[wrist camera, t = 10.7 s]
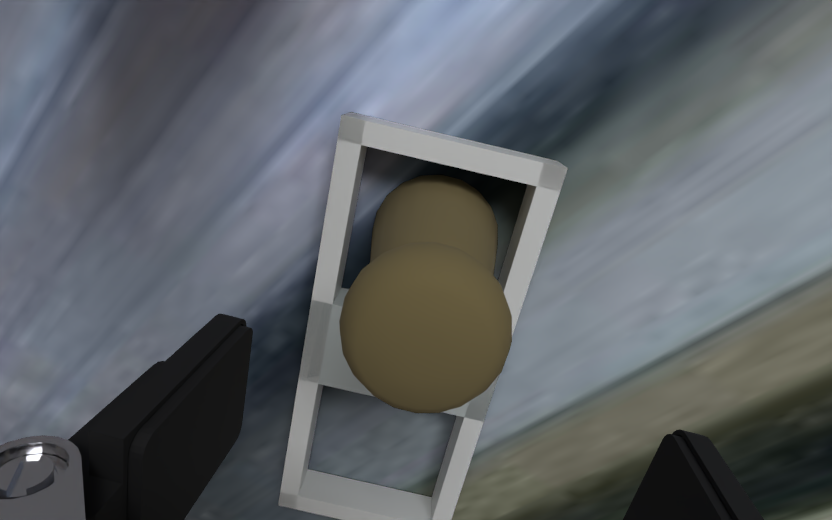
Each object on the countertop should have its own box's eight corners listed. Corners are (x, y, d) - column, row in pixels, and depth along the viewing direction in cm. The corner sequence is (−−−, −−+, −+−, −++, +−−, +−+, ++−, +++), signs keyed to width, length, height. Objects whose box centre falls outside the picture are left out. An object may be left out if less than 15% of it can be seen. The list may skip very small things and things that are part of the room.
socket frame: (557, 160, 22) (567, 168, 20) (444, 513, 30) (443, 542, 28) (350, 112, 22) (341, 115, 20) (289, 478, 29) (278, 505, 28)
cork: (439, 317, 25) (430, 481, 15) (347, 240, 24) (269, 360, 14) (525, 233, 23) (583, 353, 13) (430, 146, 22) (411, 203, 12)
